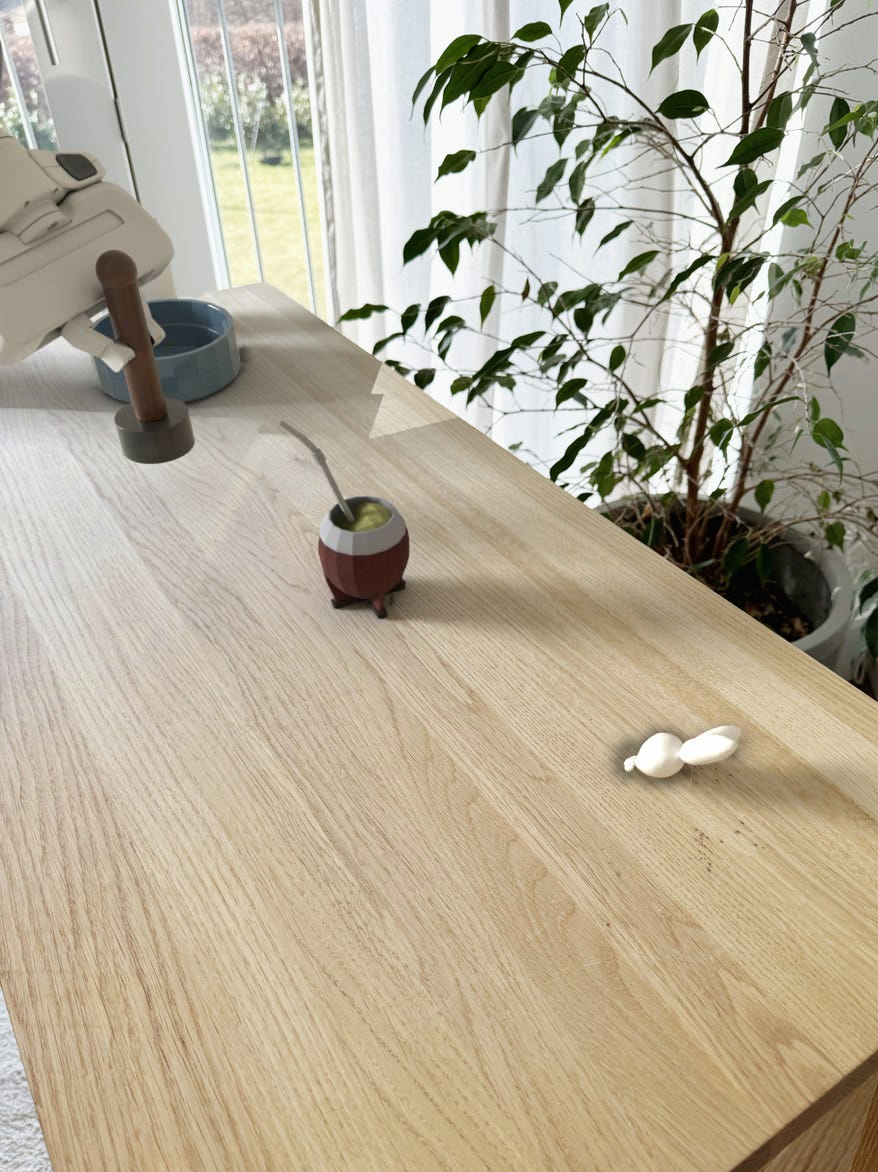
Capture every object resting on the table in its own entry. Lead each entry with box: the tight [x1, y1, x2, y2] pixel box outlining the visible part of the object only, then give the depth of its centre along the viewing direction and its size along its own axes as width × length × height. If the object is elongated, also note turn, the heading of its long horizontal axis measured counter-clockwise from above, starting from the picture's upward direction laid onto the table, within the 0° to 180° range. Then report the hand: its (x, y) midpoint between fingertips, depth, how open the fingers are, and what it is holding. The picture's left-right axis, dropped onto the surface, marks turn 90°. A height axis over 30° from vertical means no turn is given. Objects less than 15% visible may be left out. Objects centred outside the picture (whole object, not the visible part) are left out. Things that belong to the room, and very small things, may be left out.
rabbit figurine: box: [623, 725, 743, 779], centre depth 66 cm, size 6×4×8 cm
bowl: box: [88, 298, 242, 404], centre depth 109 cm, size 15×15×6 cm
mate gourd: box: [279, 420, 410, 620], centre depth 77 cm, size 8×8×15 cm
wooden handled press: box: [95, 250, 196, 465], centre depth 80 cm, size 6×6×16 cm
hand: (142, 353), depth 80 cm, fingers closed on wooden handled press, 2 cm apart
